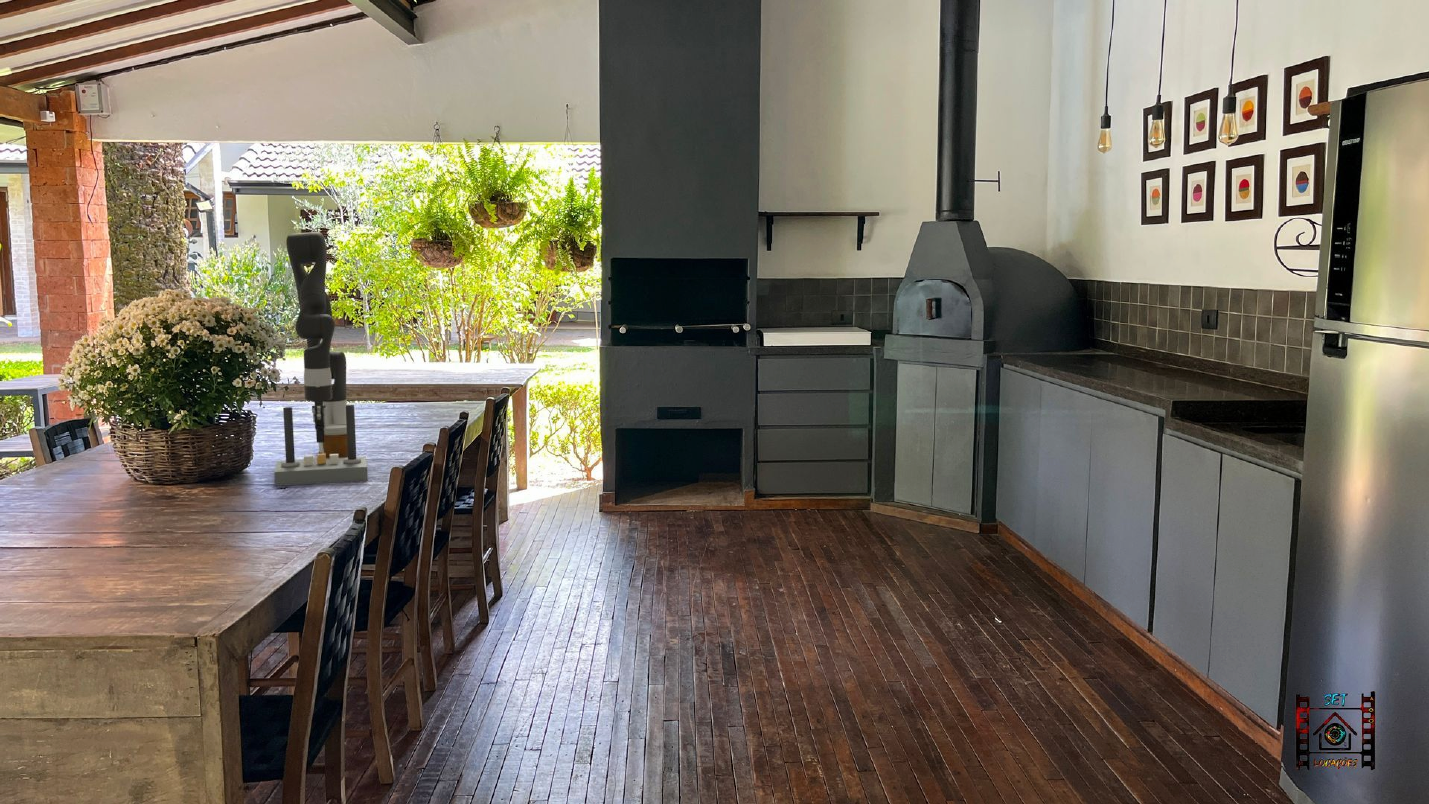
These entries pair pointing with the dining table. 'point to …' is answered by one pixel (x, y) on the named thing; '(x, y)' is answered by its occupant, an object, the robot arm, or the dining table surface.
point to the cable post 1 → (289, 439)
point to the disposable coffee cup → (335, 440)
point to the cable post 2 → (351, 436)
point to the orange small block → (321, 458)
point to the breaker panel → (320, 471)
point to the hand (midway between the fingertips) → (320, 442)
